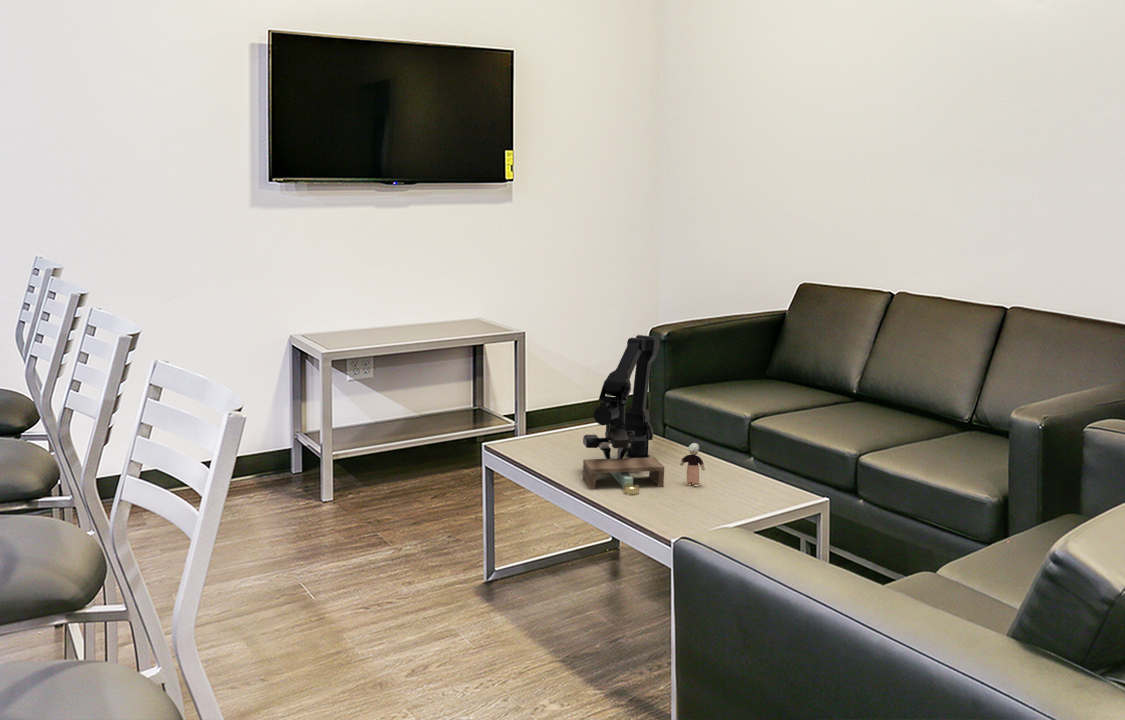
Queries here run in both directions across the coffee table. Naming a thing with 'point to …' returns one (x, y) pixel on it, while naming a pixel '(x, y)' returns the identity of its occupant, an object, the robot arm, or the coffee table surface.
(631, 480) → the green blade
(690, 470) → the grandmother figurine
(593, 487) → the walnut shelf
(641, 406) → the robot arm
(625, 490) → the brass disc
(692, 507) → the coffee table surface
